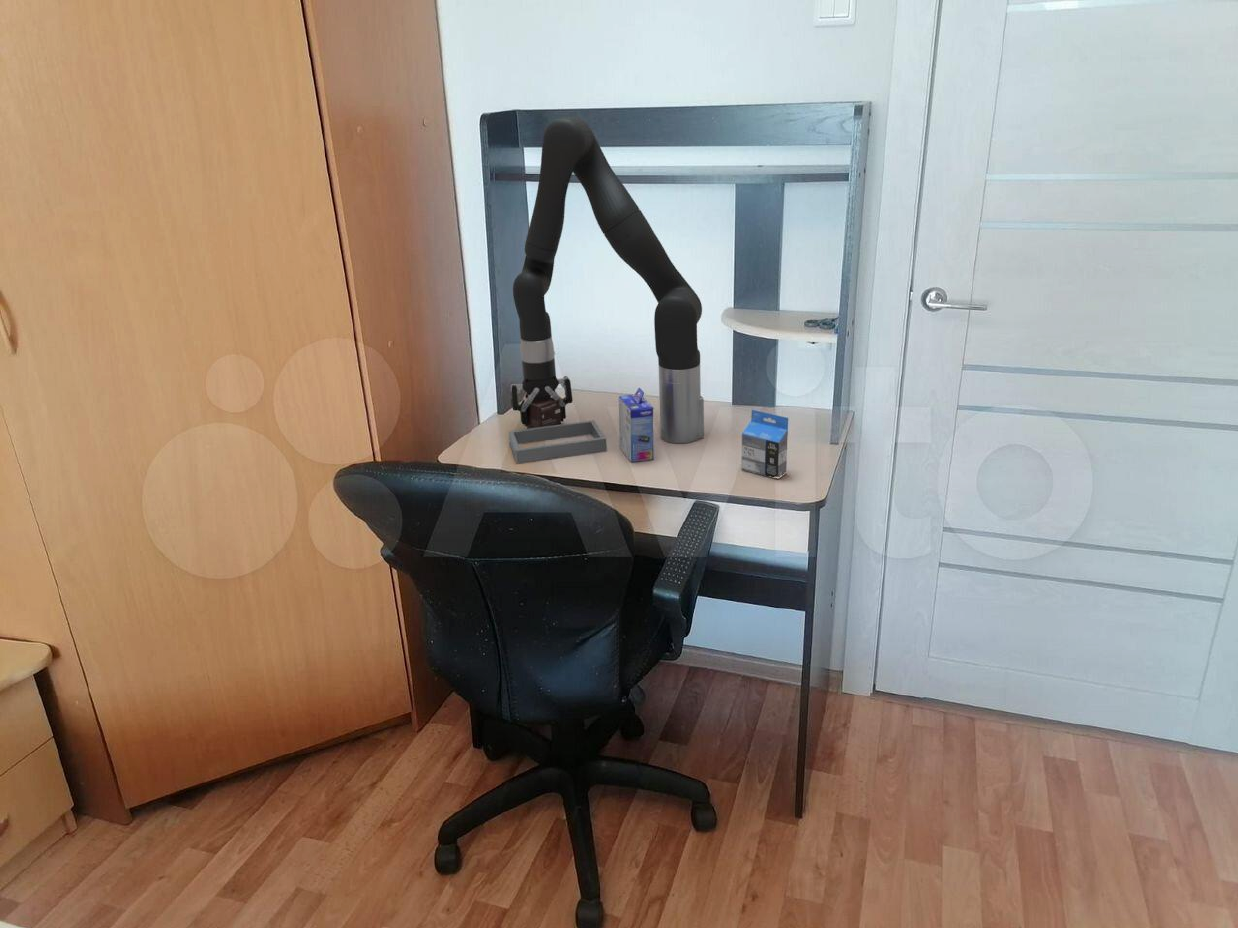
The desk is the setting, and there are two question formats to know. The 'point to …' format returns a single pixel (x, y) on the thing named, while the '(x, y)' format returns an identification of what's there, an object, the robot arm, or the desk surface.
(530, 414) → the box
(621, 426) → the ink cartridge box
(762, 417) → the ink cartridge pack
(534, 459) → the box
